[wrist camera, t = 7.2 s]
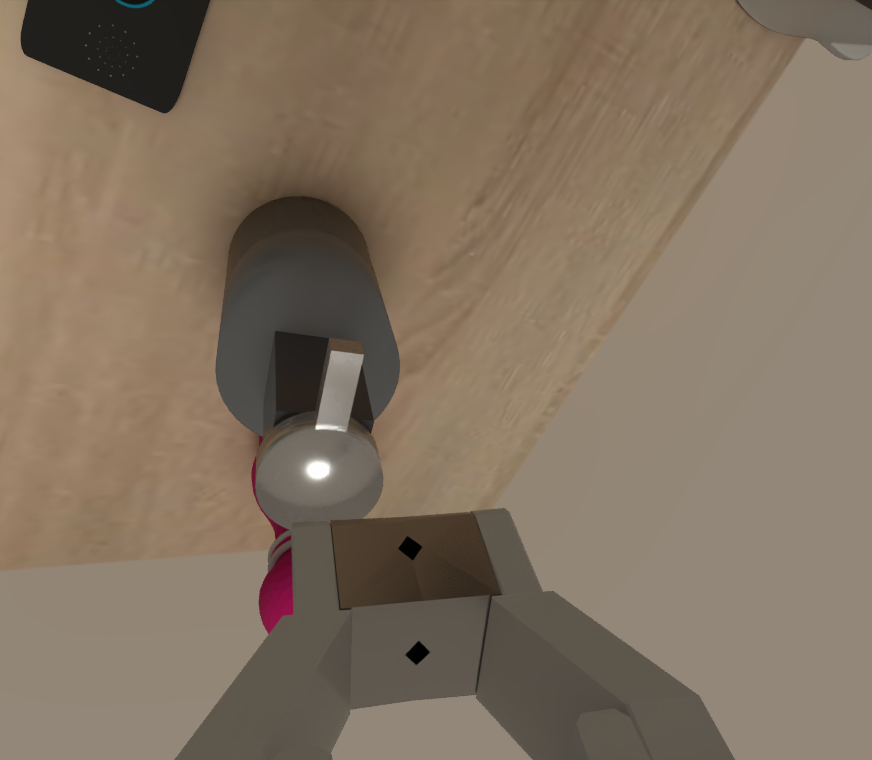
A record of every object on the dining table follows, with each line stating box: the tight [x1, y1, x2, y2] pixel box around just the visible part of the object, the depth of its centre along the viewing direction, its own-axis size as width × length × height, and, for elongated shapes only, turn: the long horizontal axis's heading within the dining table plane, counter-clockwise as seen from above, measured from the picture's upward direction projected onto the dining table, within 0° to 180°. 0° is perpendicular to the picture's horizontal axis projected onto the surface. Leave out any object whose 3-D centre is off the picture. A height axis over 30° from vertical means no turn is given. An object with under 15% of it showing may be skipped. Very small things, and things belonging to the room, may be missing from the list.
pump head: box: [255, 338, 383, 530], centre depth 33 cm, size 8×5×9 cm, turn 166°
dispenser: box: [216, 197, 400, 439], centre depth 40 cm, size 9×9×21 cm
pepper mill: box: [251, 436, 293, 634], centre depth 48 cm, size 7×7×20 cm
